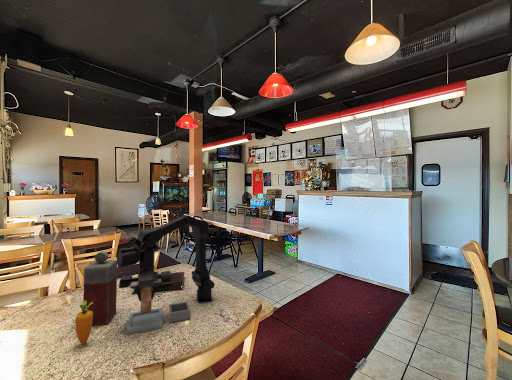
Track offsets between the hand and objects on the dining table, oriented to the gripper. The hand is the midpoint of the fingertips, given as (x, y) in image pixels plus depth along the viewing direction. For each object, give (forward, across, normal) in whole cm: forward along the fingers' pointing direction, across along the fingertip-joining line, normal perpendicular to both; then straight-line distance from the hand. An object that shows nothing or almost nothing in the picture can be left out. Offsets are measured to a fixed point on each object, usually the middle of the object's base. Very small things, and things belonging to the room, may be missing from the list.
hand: (146, 300), depth 94 cm
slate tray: (+9, 0, 0) cm, 9 cm away
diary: (+10, +6, +37) cm, 38 cm away
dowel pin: (+4, 0, 0) cm, 4 cm away
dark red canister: (+9, -17, +10) cm, 22 cm away
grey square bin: (+9, +13, 0) cm, 16 cm away
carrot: (+9, -19, -7) cm, 22 cm away
